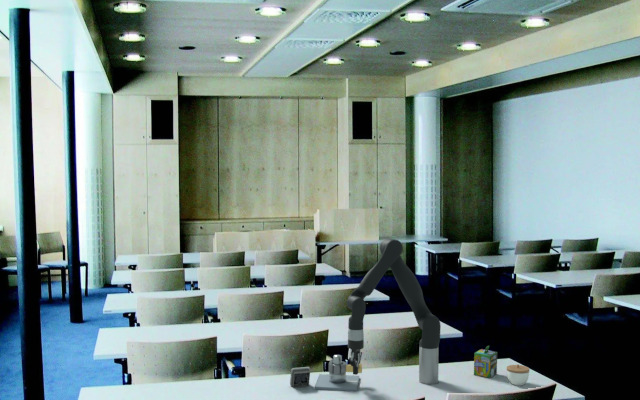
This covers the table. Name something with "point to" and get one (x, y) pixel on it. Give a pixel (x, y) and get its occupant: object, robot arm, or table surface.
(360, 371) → the coupling
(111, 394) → the table surface
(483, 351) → the chalk box
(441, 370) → the table surface
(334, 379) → the post
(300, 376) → the electrical switch
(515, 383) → the lidded jar
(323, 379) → the base board
